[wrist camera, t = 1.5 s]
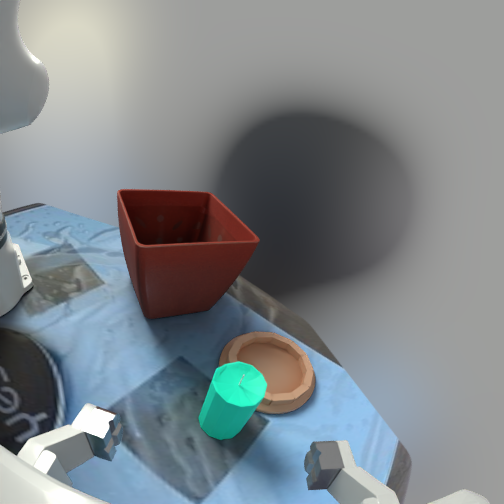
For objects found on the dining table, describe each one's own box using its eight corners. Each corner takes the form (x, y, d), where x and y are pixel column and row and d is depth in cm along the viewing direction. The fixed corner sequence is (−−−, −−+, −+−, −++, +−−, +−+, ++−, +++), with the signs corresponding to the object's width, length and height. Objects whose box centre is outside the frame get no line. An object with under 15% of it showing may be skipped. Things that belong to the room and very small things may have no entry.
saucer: (198, 355, 42) (200, 346, 41) (269, 324, 53) (273, 316, 52) (265, 433, 33) (271, 426, 32) (330, 382, 44) (336, 374, 43)
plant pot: (195, 259, 64) (211, 190, 56) (235, 319, 52) (263, 240, 44) (112, 266, 53) (116, 188, 45) (133, 338, 40) (136, 247, 32)
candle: (241, 404, 36) (268, 356, 30) (243, 441, 31) (274, 401, 25) (199, 399, 35) (215, 349, 29) (197, 437, 30) (214, 396, 24)
